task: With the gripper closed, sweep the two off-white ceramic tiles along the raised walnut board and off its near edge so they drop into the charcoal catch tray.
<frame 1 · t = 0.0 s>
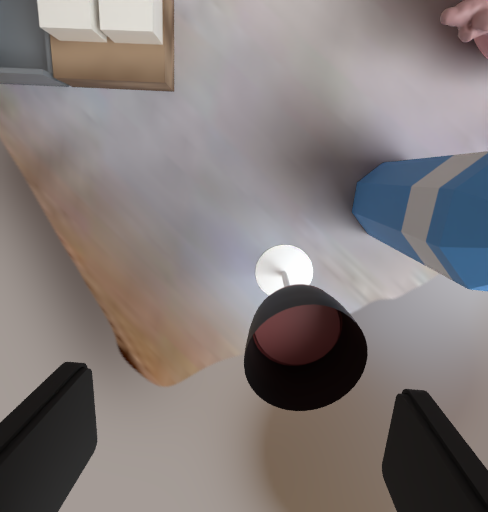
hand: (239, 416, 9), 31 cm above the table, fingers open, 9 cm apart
balloon: (487, 23, 33), on the table
water bottle: (389, 200, 38), on the table
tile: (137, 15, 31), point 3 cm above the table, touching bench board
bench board: (120, 29, 35), on the table
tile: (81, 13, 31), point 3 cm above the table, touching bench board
wineglass: (283, 272, 41), on the table
catch tray: (27, 26, 35), on the table
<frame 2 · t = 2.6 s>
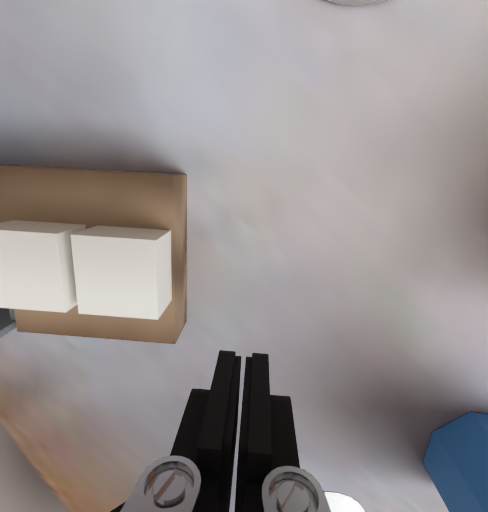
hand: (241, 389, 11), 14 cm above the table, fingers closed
water bottle: (474, 451, 28), on the table
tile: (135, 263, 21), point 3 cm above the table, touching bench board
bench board: (112, 247, 25), on the table
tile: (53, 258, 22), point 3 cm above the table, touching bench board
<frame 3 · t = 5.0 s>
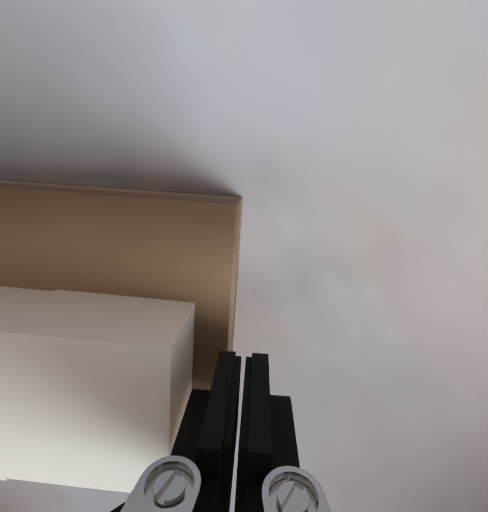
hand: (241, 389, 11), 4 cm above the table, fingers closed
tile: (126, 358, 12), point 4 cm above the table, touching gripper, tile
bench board: (111, 313, 15), on the table
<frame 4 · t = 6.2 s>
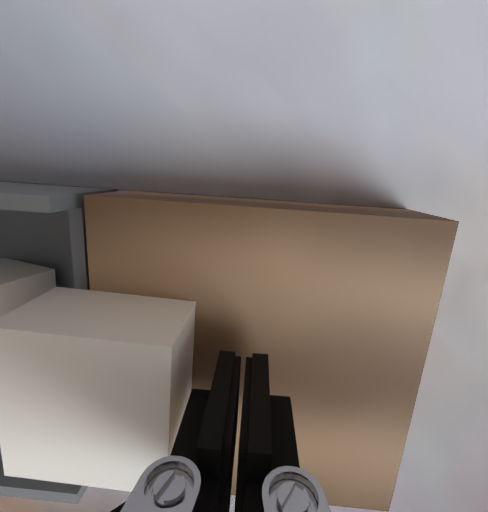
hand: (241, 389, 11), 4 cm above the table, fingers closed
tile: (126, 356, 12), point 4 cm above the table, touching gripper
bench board: (255, 326, 15), on the table
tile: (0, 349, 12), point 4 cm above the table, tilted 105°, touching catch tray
catch tray: (36, 308, 15), on the table
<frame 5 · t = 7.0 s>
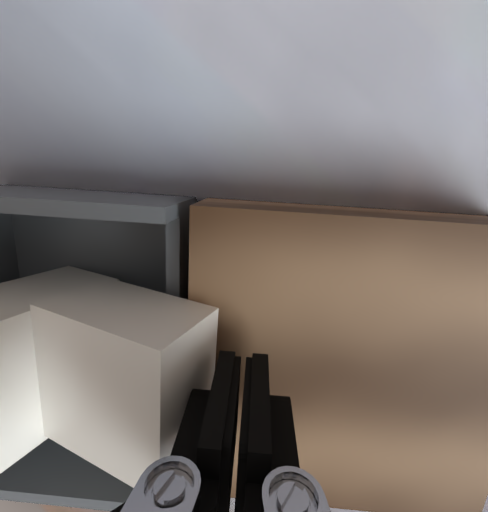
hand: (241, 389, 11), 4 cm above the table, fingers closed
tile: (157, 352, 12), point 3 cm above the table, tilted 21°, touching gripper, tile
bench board: (330, 334, 15), on the table
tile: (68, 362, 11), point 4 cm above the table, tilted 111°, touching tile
catch tray: (107, 316, 15), on the table
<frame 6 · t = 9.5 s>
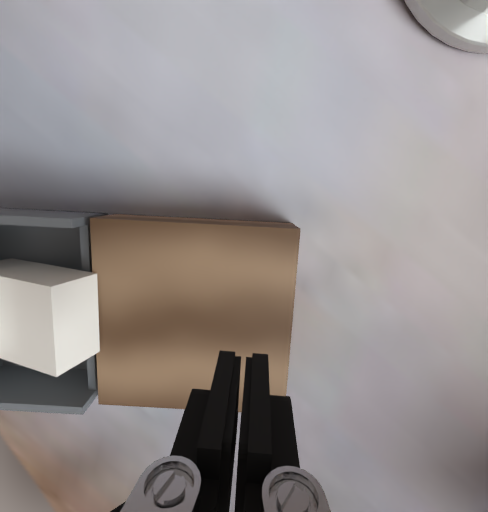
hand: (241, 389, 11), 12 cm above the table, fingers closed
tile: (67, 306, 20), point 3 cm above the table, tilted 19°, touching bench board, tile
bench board: (201, 302, 22), on the table
catch tray: (52, 294, 22), on the table
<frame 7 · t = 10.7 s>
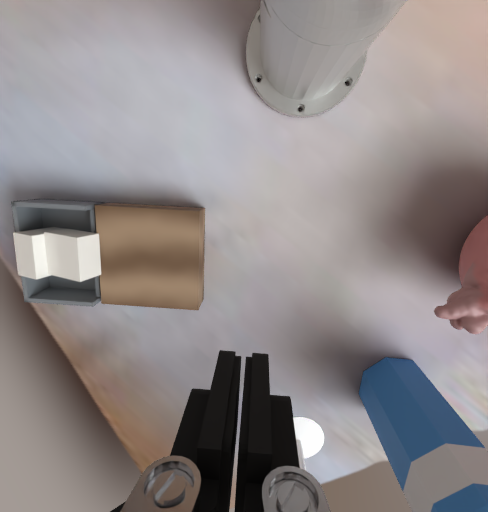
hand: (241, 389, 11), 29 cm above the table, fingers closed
balloon: (475, 255, 38), on the table
water bottle: (391, 385, 43), on the table
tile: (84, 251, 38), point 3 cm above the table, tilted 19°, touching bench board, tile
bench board: (157, 252, 40), on the table
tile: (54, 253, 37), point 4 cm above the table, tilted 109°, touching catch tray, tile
wineglass: (298, 437, 46), on the table
catch tray: (76, 247, 40), on the table
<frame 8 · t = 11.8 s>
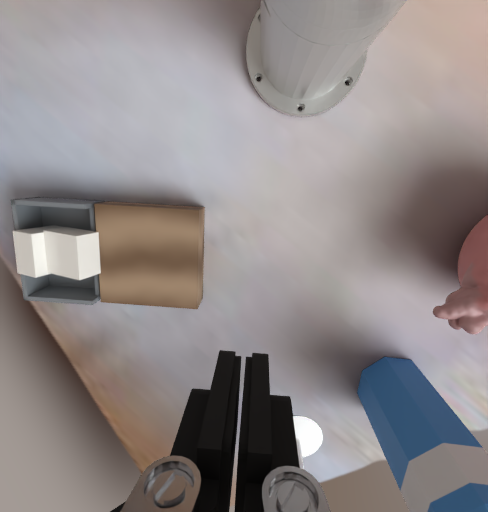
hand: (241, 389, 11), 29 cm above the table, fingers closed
balloon: (474, 255, 38), on the table
water bottle: (390, 384, 43), on the table
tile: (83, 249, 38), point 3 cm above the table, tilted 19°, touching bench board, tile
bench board: (157, 251, 40), on the table
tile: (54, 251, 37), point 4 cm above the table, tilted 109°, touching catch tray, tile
wineglass: (296, 436, 46), on the table
catch tray: (75, 245, 40), on the table
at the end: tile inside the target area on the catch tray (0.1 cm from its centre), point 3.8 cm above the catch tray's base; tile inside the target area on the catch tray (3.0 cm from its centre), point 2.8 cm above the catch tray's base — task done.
